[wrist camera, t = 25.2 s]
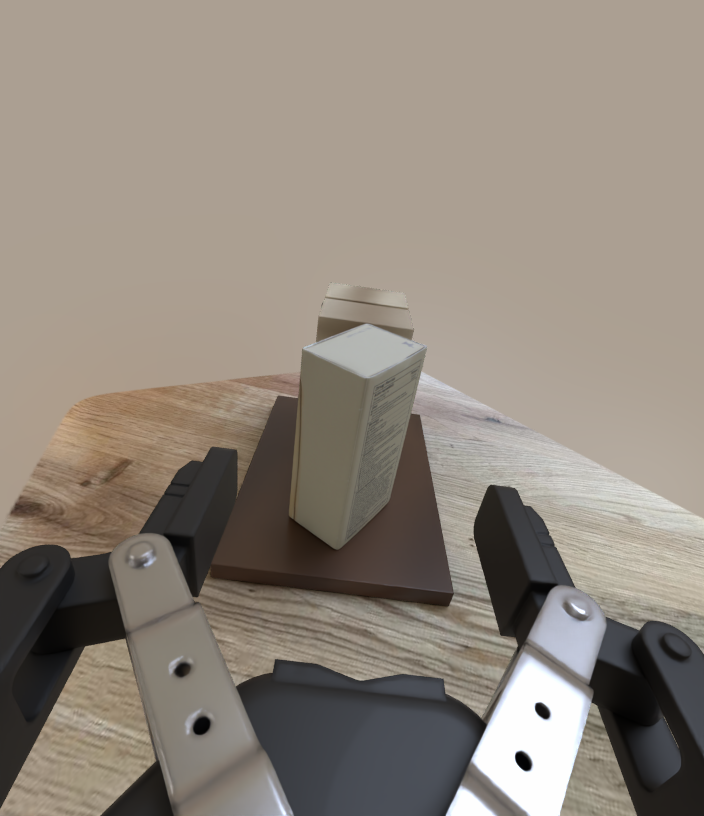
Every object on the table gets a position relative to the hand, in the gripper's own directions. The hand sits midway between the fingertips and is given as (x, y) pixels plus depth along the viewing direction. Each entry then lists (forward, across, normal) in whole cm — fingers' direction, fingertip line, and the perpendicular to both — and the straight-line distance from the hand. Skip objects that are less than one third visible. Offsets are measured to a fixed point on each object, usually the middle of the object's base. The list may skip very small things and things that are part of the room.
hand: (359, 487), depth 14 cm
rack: (+14, 0, +13) cm, 19 cm away
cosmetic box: (+11, 0, +12) cm, 16 cm away
